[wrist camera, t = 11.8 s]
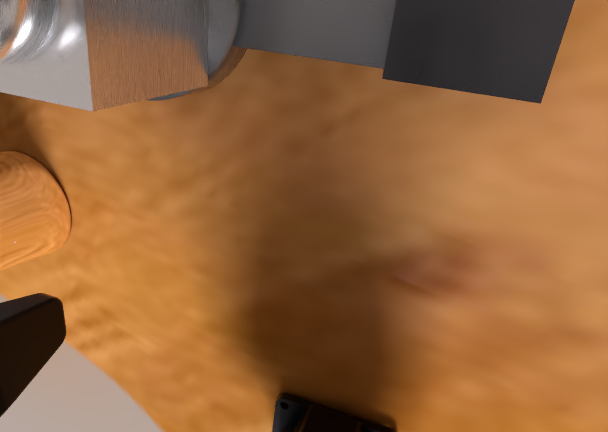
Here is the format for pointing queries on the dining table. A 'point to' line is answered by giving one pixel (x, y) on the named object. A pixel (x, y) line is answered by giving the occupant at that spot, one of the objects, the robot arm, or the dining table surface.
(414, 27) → the ratchet
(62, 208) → the beer glass
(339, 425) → the robot arm
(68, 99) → the cube with round boss
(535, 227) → the dining table surface
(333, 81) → the dining table surface
